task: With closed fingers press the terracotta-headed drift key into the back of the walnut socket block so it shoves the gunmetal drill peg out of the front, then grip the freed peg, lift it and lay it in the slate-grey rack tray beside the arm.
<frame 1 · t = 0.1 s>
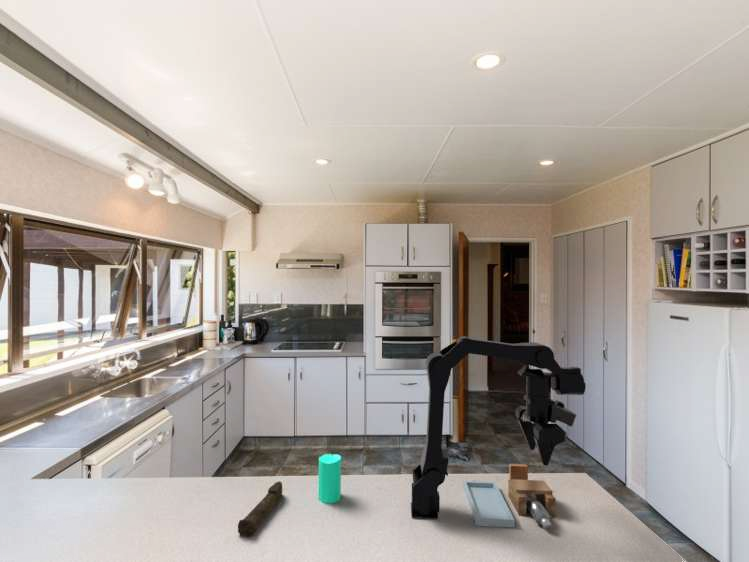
hand: (538, 456, 97), 15 cm above the countertop, fingers open, 9 cm apart
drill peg: (535, 514, 98), on the countertop
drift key: (522, 481, 109), point 3 cm above the countertop, slide at 0.0 cm
dark brown rod: (262, 515, 97), on the countertop
socket block: (530, 506, 102), on the countertop
candle: (329, 498, 105), on the countertop
rack tray: (486, 505, 102), on the countertop
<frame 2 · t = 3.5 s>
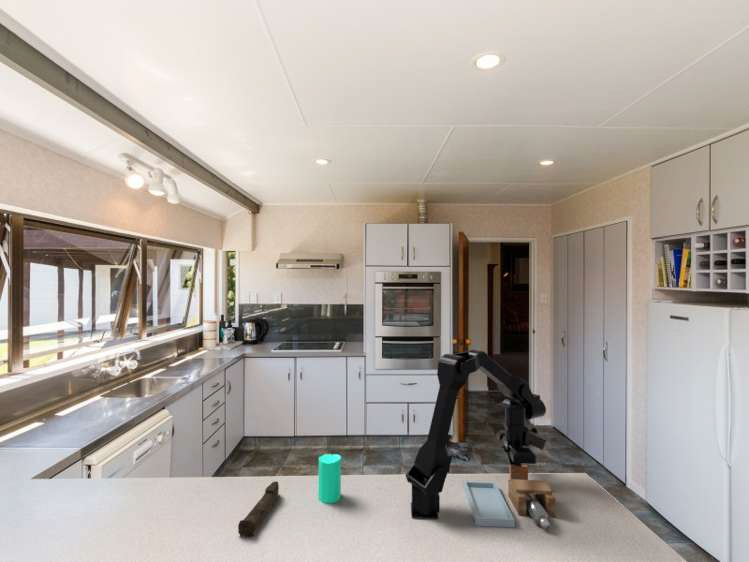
hand: (515, 475, 115), 2 cm above the countertop, fingers closed
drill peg: (535, 514, 98), on the countertop, tilted 10°
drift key: (522, 481, 108), point 3 cm above the countertop, slide at 0.2 cm, touching gripper
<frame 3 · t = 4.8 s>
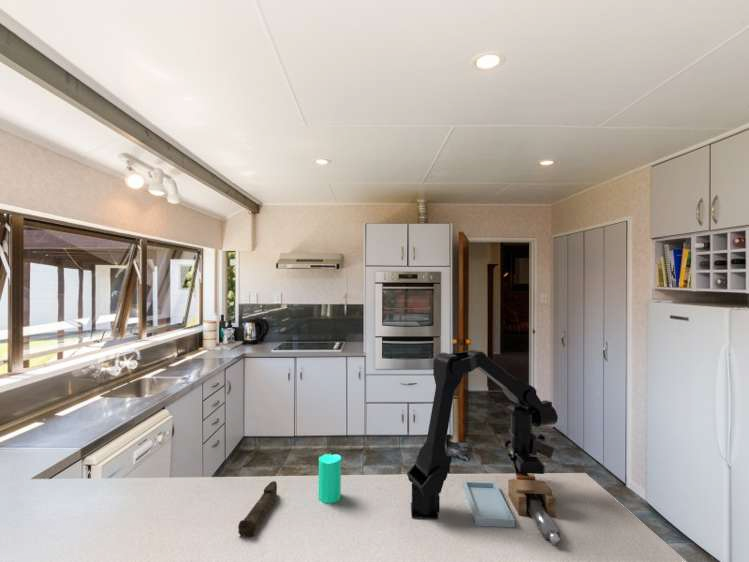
hand: (521, 484, 109), 2 cm above the countertop, fingers closed
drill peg: (544, 527, 93), on the countertop, tilted 10°
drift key: (529, 492, 103), point 3 cm above the countertop, slide at 6.1 cm, touching gripper
everything else where it was.
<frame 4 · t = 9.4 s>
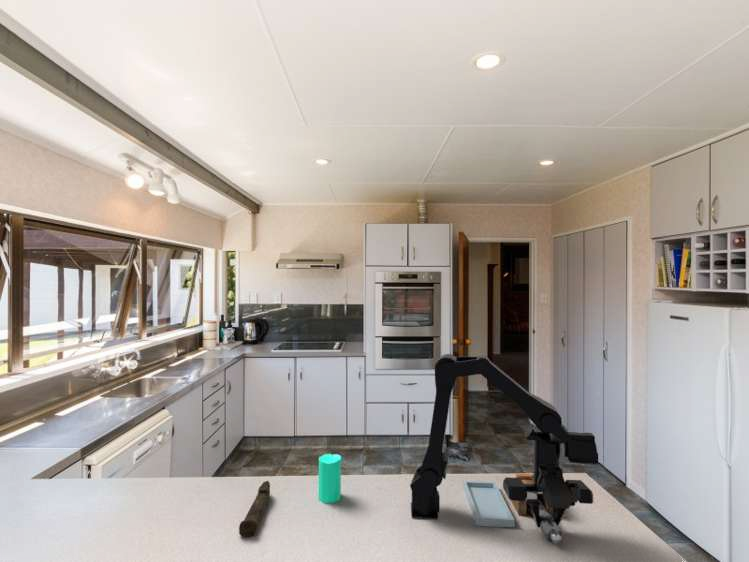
hand: (546, 527, 91), 1 cm above the countertop, fingers closed on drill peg, 4 cm apart
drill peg: (543, 527, 93), on the countertop, touching gripper
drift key: (529, 492, 103), point 3 cm above the countertop, slide at 6.0 cm
when the fingers open (2 cm above the countertop, at t = 13.0 s): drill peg stays where it is, resting on rack tray.
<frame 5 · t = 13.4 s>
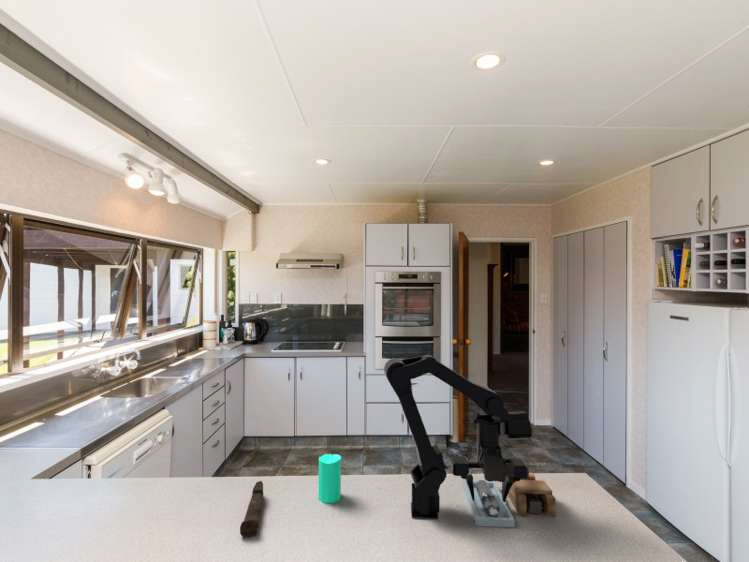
hand: (488, 500, 100), 2 cm above the countertop, fingers open, 7 cm apart
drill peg: (486, 504, 102), resting on rack tray
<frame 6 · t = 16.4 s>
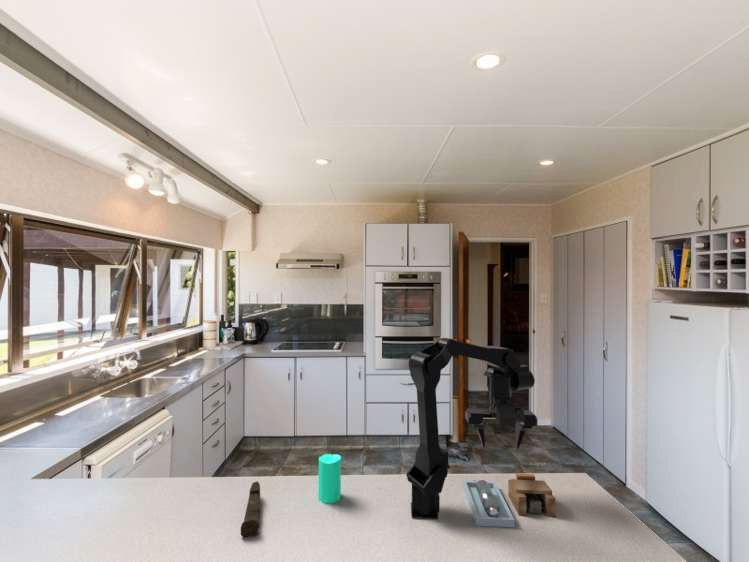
hand: (500, 447, 110), 12 cm above the countertop, fingers open, 9 cm apart
at the end: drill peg inside the target area on the rack tray (0.4 cm from its centre), point 0.5 cm above the rack tray's base; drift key slide at 6.0 cm; the gripper is holding nothing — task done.
